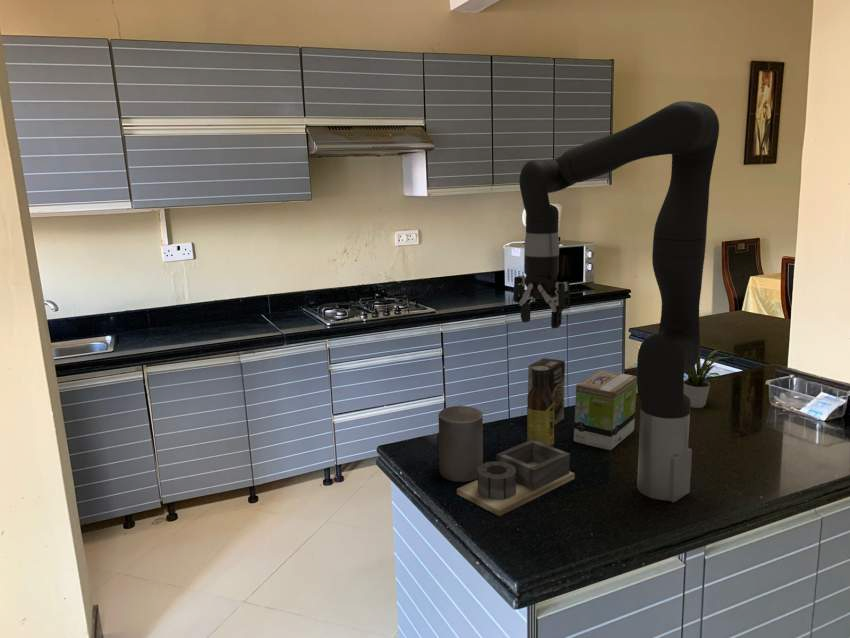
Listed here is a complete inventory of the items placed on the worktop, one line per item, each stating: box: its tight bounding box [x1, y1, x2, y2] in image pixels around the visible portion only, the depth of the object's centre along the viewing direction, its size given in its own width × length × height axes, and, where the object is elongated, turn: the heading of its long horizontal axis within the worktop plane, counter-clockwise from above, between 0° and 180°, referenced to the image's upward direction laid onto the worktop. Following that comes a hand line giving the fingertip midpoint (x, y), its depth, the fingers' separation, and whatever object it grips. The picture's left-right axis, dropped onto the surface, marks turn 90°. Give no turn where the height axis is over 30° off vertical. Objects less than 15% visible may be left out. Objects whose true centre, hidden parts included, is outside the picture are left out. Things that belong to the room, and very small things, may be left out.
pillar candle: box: [438, 405, 484, 483], centre depth 140 cm, size 10×10×15 cm
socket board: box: [456, 439, 576, 517], centre depth 134 cm, size 12×23×6 cm, turn 130°
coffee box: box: [527, 357, 566, 426], centre depth 167 cm, size 9×6×16 cm
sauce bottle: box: [526, 366, 555, 447], centre depth 150 cm, size 6×6×20 cm
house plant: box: [684, 349, 729, 409], centre depth 176 cm, size 14×14×16 cm
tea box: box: [573, 369, 637, 451], centre depth 157 cm, size 15×10×15 cm, turn 143°
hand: (540, 324), depth 145 cm, fingers open, 8 cm apart
